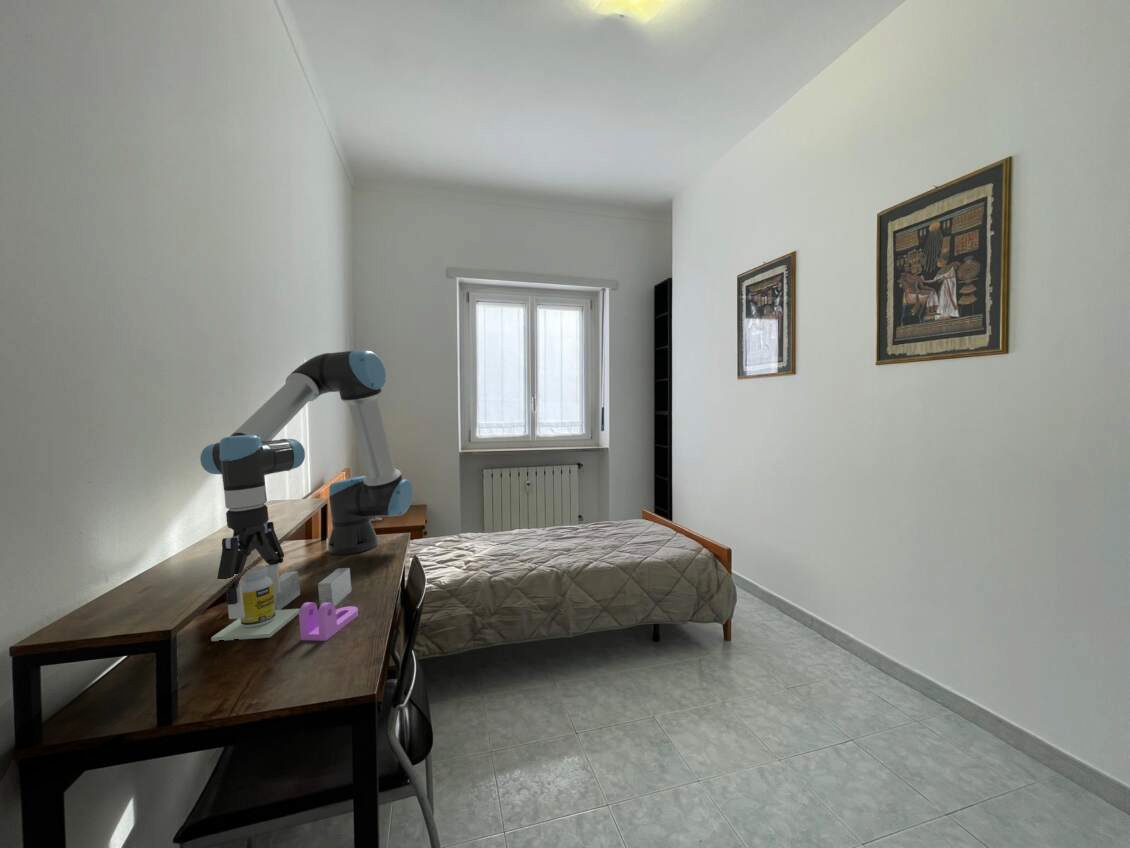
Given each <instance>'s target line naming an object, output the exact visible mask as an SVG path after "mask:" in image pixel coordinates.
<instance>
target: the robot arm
mask: <svg viewBox="0 0 1130 848" xmlns="http://www.w3.org/2000/svg"><path fill="white" fill-rule="evenodd" d="M386 372H387V371H386V368H385V366H384V364H383V362H382V359H380V358H379V356H378V355H377V354H376V353H374V352H373V351H371V350H358V349H356V350H347V351H339V352H337V351H336V352H326V353H324V352H323V353H322V354H318V355H316V356H313V357H312V358H310V359H308V360H306V361H305V362H303V363H302V364H301V365H299V366H298V367H297V368H295V369H294V370H293V371H291V373H290V374H289V375H288V376H287V377H286V378H285V384H283V385H282V387H280V388H279V389H278V390H277V391H276V392H275V393H274V394H273V395H272V396H271V397H270V398H269V399H268V400H266V402H265V403H263V404H262V405H261V407H259V408H258V409H257V410H256V411H255V412H254V413H253V414H252V415H251V416H250V417H249V418H248V419H246V420H245V422H244V423H242V425H240V426H239V427H238V428H237V429H236V430H235V431H233V433H232V434H231V435H230V436H225V437H223V438H221V439H220V441H219V442H215V443H211V444H208V445H206V446H205V447H204V448H203V449H202V451H201V454H200V464H201V467H202V468H203V470H205V472H207V473H209V474H212V475H221V477H222V485H223V493H224V502H225V503H224V504H225V508H226V509H227V510H226V512H225V515H226V525H227V528H228V529H231V530H233V531H232V532H233V533H232V537H225V538H222V539H221V540H222V541H221V547H222V550H221V555H220V561H219V562H220V563H219V567H218V572H217V578H216V580H217V579H227V578H231V577H233V576H234V574H239V573H241V572H243V570H245V564H246V562H247V560H248V557H249V556H250V555H252V554H251V553H252V552H253V551H254V550H256V551H257V552H258V554H259V555H260V557H261V558H262V559H263V560H264V562H265V563H266V564H265V565H264V566H266V568H267V574H266V577H269V578H271V579H272V581H273V591H274V593H280V592H281V589H280V579H279V576H280V569H279V564H282V563H283V562H284V557H285V553H284V550H283V548H282V546H281V544H280V541H279V539H278V536H277V534H276V531H275V526H274V525H275V524H274V522H273V521H269V520H270V519H269V510H268V505H267V504H266V503H268V498H267V497H268V496H267V488H266V479H265V477H266V476H267V475H272V474H276V473H282V472H289V471H292V470H295V469H297V468H299V467H300V466H301V465H303V463H304V461H305V459H306V458H305V457H306V452H305V447H304V446H303V445H302V443H301V442H300V441H299V440H297V439H294V438H281V439H277V440H276V439H275V437H276V436H277V435H278V434H279V433H280V432H281V431H282V430H283V429H284V428H285V427H286V425H288V424H289V423H290V422H291V421H292V420H293V418H294V417H295V416H296V415H297V414H298V413H299V412H300V411H301V410H302V409H303V408H304V407H305V406H306V405H307V404H308V403H309V402H313V401H315V400H317V399H318V398H319V397H320V396H321V395H323V394H327V393H332V392H334V393H336V392H338V393H339V396H340V400H341V401H342V402H343V403H346V405H348V408H349V413H350V416H351V419H352V424H353V428H354V431H355V436H356V439H357V444H358V447H359V451H360V454H361V457H362V461H363V466H364V470H365V472H366V475H362V476H361V475H360V476H355V477H351V478H345V479H341V480H338V481H334V482H332V483H331V484H330V485H329V489H328V490H329V491H328V492H329V495H328V498H329V506H330V515H331V525H332V526H331V527H332V528H331V531H330V537H329V540H328V543H327V544H328V545H327V551H328V553H329V554H332V555H335V556H336V555H338V556H339V555H352V554H357V553H361V552H366V551H368V550H371V549H373V548H375V547H376V546H378V544H379V541H378V540H379V539H378V535H377V534H376V533H377V532H376V531H375V529H374V527H373V525H372V522H371V517H391V518H392V517H395V516H397V517H398V516H403V515H404V514H405V513H407V512H408V510H409V509H410V507H411V504H412V500H413V496H414V495H413V491H414V490H413V485H412V482H411V480H409V479H406V478H403V476H402V471H401V470H399V469H397V468H396V466H395V464H394V459H393V455H392V451H391V447H390V443H389V438H388V435H387V430H386V427H385V423H384V418H383V413H382V409H381V406H380V403H379V396H380V395H382V388H383V387H384V386H385V384H386V377H387V376H386V375H387V373H386ZM274 439H275V440H274ZM365 550H366V551H365ZM241 579H242V577H241V576H240V578H238V579H237V580H236V581H235V582H234V583H233V584H232V585H231V586H229V587H228V589H227V590H226V591H225V598H226V604H227V611H228V612H227V613H228V620H237V619H239V618H243V617H245V614H244V604H243V594H242V586H239V585H240V581H241Z"/></svg>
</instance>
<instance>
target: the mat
mask: <svg viewBox="0 0 1130 848" xmlns="http://www.w3.org/2000/svg"><path fill="white" fill-rule="evenodd" d="M299 611H300V608H290V609H289V608H288V609H287V608H286V609H280V610H275V613H276V615H275V618H274V619H273V620H272V621H270V622H268V623H266V624H263V625H260V626H256V627H244V626H242V625H241V619H240V618H238V619H235V620H234V621H233V622H232V623H230V624H229V625H227V626H226V627H224V628H223V629H222V630H220V631H219V632H217V633H216V634H214V635H213V636H211V639H210V640H211V642H220V641H219V640H224V641H235V640H234V639H239V640H250V639H251V640H252V639H266V638H268V639H269V638H271V637H272V636H274V635H275V634H276V633H277V632H279V631H280V630H281V629H282V628H284V626H286V625H287V624H288V623H289V622H291V621H292V620H293V619H294V618H295V617H296V616H299Z"/></svg>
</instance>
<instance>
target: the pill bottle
mask: <svg viewBox="0 0 1130 848" xmlns="http://www.w3.org/2000/svg"><path fill="white" fill-rule="evenodd" d="M250 568H251V567H250ZM266 574H267V568H266V566H265V565H258V566H257V565H256V566H253V567H252V568H251V569H250V570H248V571H247V572H246V573H245V574H244V575H243V576H241V579H242V582H241V583H239V584H238V586H242V594H243V604H244V614H245V617H243V618H240V619H241V625H242V626H244V627H256V626H260V625H263V624H266V623H268V622H270V621H272V620H273V619H274V618H275V615H276V613H275V601H274V591H273V581H272V579H271V578H269V577H266Z"/></svg>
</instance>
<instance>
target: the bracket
mask: <svg viewBox="0 0 1130 848" xmlns="http://www.w3.org/2000/svg"><path fill="white" fill-rule="evenodd" d="M299 609H300V611H299V614H298V619H299V620H298V621H299V631H300V640H301V641H326V642H327V640H329V639H330V638H331V637H333V636H334V635H335V634H337V633H338V632H339V631H340V630H342V629H343V628H344V627H346V626H347V625H348V624H349V623H351V622H352V621H354V620H355V619H356V618H357V617H358V615H359V609H358V607H357V606H351V605H350V606H348V605H347V606H343V607H340V608H336V606H335V605H334V603H323V604H321V606H320V605H319V607H318V606H317V603H316V602H314V601H313V602H311V601H310V602H309V601H307V602H304V603H303V604H302V605H301V607H300V608H299Z"/></svg>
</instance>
